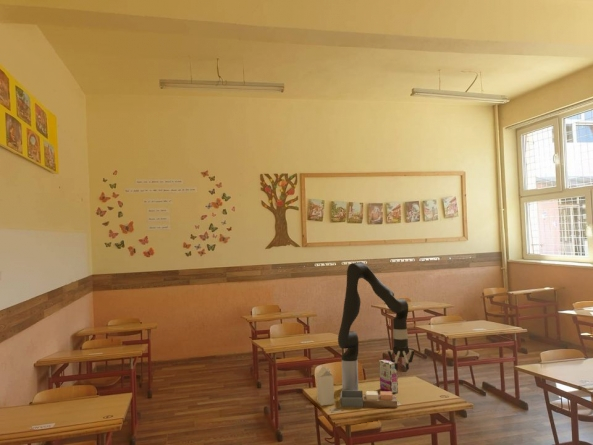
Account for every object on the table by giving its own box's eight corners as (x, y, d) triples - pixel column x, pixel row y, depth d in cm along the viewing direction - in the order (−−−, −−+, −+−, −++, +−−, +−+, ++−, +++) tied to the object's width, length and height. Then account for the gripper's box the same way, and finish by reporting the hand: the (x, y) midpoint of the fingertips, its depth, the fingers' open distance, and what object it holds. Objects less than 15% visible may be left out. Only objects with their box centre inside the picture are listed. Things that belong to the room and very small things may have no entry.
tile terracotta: (380, 395, 245) (380, 391, 245) (391, 396, 244) (391, 391, 244) (380, 399, 239) (380, 394, 239) (392, 399, 238) (392, 394, 238)
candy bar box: (398, 392, 259) (397, 363, 260) (391, 394, 257) (390, 364, 258) (386, 387, 269) (385, 359, 270) (379, 388, 267) (378, 360, 268)
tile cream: (366, 395, 246) (365, 391, 246) (377, 395, 245) (377, 391, 245) (366, 399, 240) (366, 394, 240) (378, 399, 239) (377, 394, 239)
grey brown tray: (363, 399, 248) (363, 394, 248) (395, 400, 246) (395, 394, 246) (363, 406, 237) (363, 400, 237) (397, 407, 235) (397, 401, 235)
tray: (341, 399, 251) (341, 390, 251) (362, 399, 249) (362, 390, 249) (340, 407, 238) (340, 397, 238) (363, 407, 236) (362, 398, 237)
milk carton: (321, 406, 240) (320, 369, 241) (317, 401, 247) (316, 366, 248) (334, 404, 242) (333, 367, 243) (329, 400, 249) (328, 364, 250)
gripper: (413, 335, 245) (414, 368, 244) (386, 336, 247) (387, 368, 246) (415, 338, 238) (416, 372, 237) (387, 338, 239) (388, 372, 238)
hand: (401, 370), depth 241 cm, fingers open, 4 cm apart
